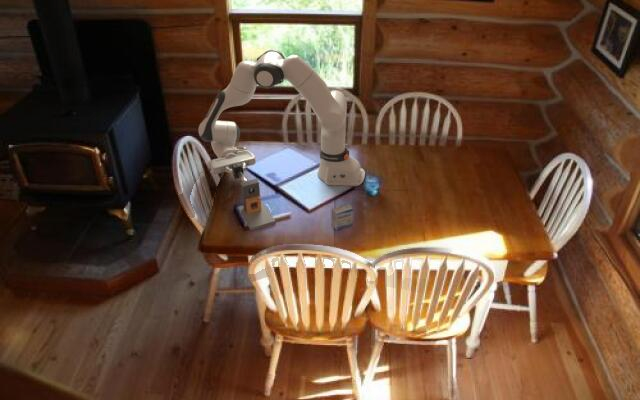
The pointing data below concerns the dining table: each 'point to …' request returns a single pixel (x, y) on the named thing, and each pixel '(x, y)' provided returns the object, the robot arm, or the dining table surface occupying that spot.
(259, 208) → the spacer
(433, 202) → the dining table surface
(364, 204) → the dining table surface
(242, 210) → the bearing stand
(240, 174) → the shaft
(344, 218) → the medicine box
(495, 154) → the dining table surface
